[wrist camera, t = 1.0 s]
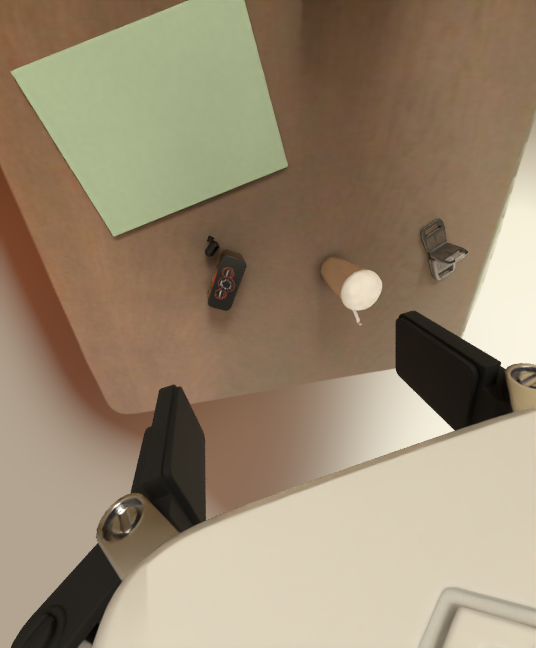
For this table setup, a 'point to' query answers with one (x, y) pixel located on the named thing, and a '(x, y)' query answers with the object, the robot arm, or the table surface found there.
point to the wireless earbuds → (224, 276)
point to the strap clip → (441, 251)
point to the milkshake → (352, 284)
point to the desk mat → (160, 111)
